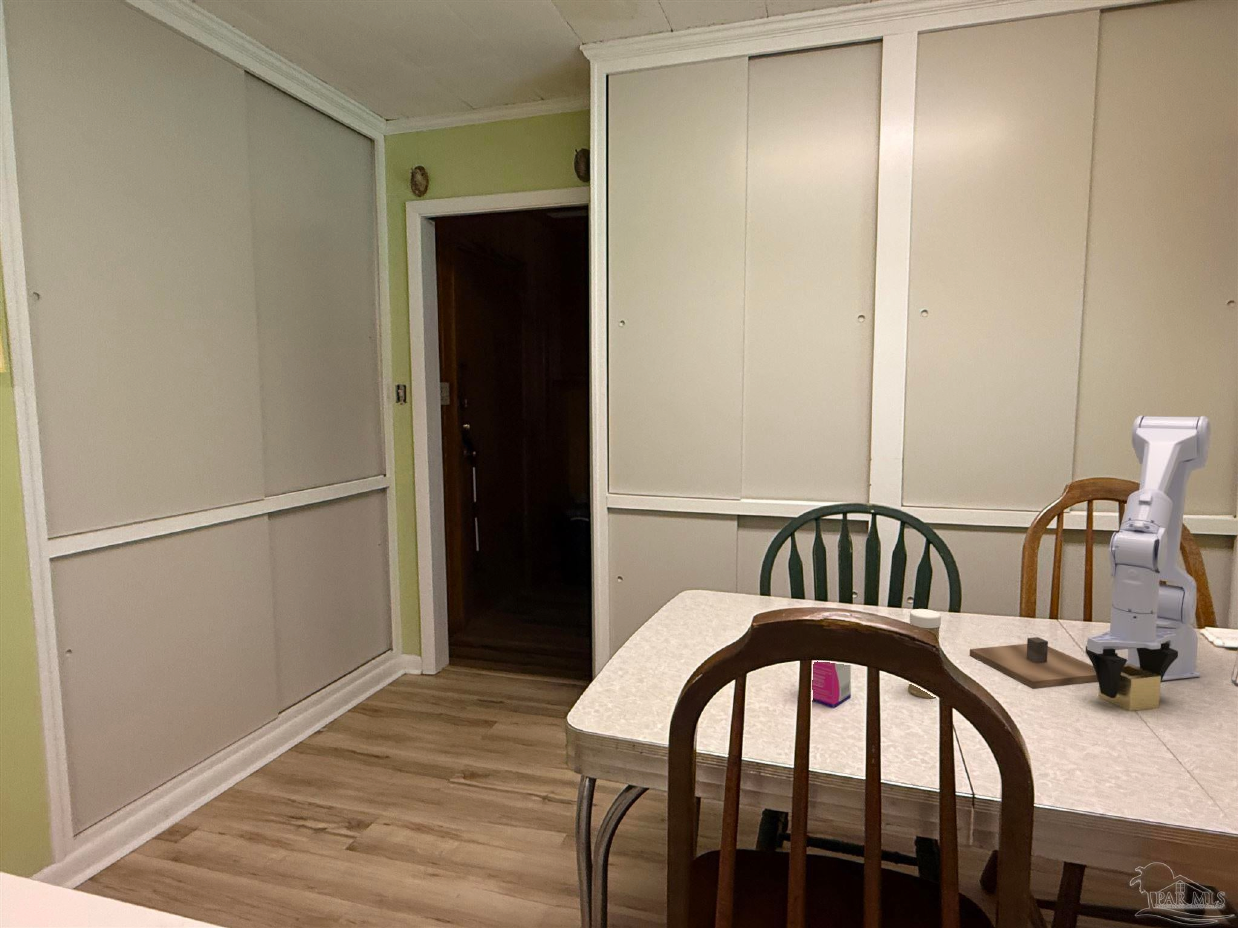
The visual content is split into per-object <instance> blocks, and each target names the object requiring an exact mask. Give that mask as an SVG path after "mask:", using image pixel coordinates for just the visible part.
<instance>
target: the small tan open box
mask: <svg viewBox="0 0 1238 928" xmlns="http://www.w3.org/2000/svg"><path fill="white" fill-rule="evenodd" d="M1160 682H1161V683H1162V681H1161V676H1159V675H1157V674H1154V673H1152V672H1149V671H1147V670H1144V669H1142V668H1140V667H1137V666H1135V665H1132V664H1130V663H1126V664H1125V665H1124V667H1123V669H1122V672H1121V675H1120V679H1119V686H1118V692H1117V695H1116V698H1110V697H1108V696H1106V695H1104V694H1102V693H1101V691H1100V687H1099V686H1098V697H1100V699H1103V700H1105V701H1108V702H1109V703H1112V704H1113V705H1116V706H1118V707H1119V708H1122V709H1124V710H1125V711H1128V712H1133V711H1135V712H1136V711H1140V710H1141V711H1142V710H1150V709H1158V708H1159V707H1160V706H1159V705H1160V694H1161V693H1160V692H1161V683H1160Z"/></svg>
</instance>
